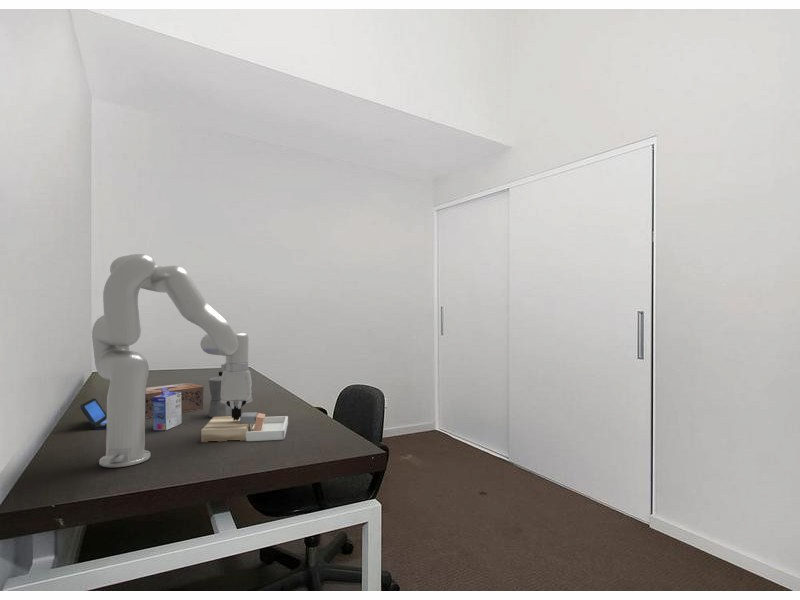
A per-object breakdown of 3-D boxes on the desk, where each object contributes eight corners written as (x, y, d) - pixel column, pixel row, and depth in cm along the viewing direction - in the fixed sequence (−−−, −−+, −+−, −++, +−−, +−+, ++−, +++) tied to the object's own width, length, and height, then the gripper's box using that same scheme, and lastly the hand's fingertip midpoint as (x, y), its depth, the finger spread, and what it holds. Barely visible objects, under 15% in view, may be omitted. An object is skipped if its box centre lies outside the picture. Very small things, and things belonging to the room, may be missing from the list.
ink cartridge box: (168, 423, 171) (169, 385, 171) (182, 423, 170) (182, 385, 171) (151, 430, 161) (152, 390, 161) (166, 430, 161) (166, 390, 161)
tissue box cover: (189, 404, 205) (189, 382, 206) (203, 409, 196) (203, 386, 196) (126, 414, 186) (126, 390, 186) (138, 420, 177) (138, 394, 177)
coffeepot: (200, 414, 185) (201, 371, 185) (222, 410, 192) (222, 368, 192) (220, 421, 175) (220, 374, 175) (242, 416, 182) (242, 372, 183)
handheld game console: (120, 429, 164) (121, 403, 164) (78, 431, 160) (78, 405, 160) (132, 418, 179) (132, 395, 179) (93, 421, 175) (94, 397, 175)
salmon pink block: (253, 431, 156) (260, 432, 157) (256, 417, 156) (263, 418, 157) (255, 426, 162) (262, 427, 163) (258, 413, 162) (265, 414, 163)
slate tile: (254, 423, 156) (255, 416, 156) (239, 424, 155) (240, 416, 155) (257, 419, 162) (257, 412, 162) (242, 419, 161) (242, 412, 161)
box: (284, 439, 151) (284, 430, 151) (246, 441, 149) (246, 432, 149) (287, 423, 171) (287, 416, 171) (254, 425, 169) (254, 417, 169)
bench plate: (245, 440, 150) (245, 428, 150) (201, 442, 147) (201, 430, 147) (253, 426, 168) (253, 415, 168) (213, 427, 165) (213, 416, 165)
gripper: (212, 369, 153) (211, 423, 153) (257, 368, 156) (257, 421, 156) (216, 366, 161) (216, 417, 160) (260, 365, 163) (259, 416, 163)
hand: (236, 419), depth 158 cm, fingers closed
